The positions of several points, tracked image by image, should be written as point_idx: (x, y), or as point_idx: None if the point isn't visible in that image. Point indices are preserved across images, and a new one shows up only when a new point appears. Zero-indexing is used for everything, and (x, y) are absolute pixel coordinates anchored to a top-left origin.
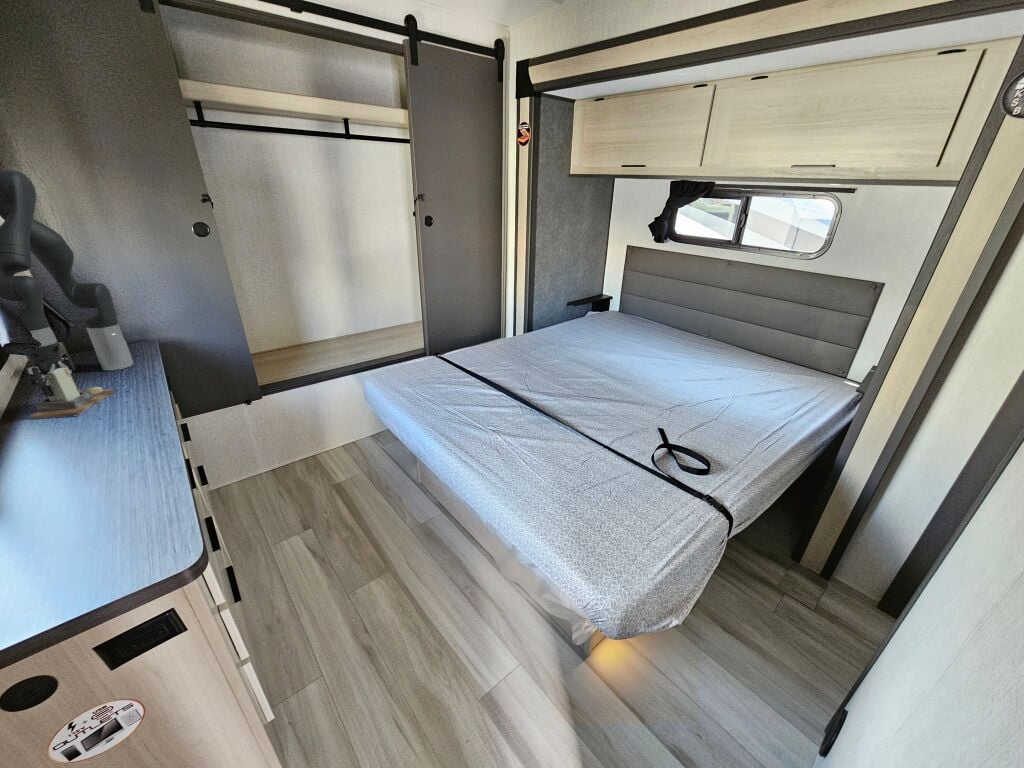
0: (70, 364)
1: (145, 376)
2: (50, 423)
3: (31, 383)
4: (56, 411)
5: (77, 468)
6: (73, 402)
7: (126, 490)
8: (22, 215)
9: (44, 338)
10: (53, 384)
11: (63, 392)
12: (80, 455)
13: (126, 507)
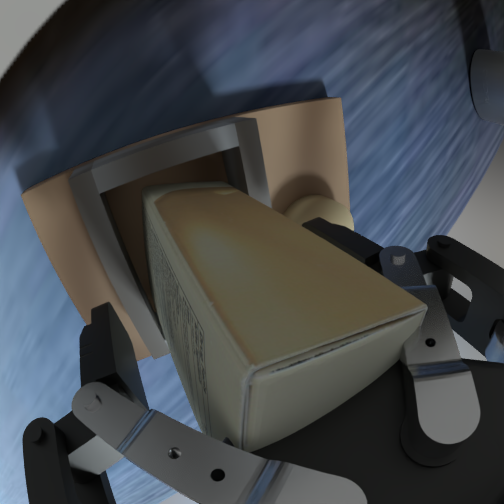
0: (454, 327)
1: (435, 226)
2: (30, 322)
3: (30, 463)
4: (95, 275)
5: (5, 499)
6: (153, 357)
7: None
8: None
9: None
10: (186, 373)
11: (173, 360)
12: (18, 488)
13: None
